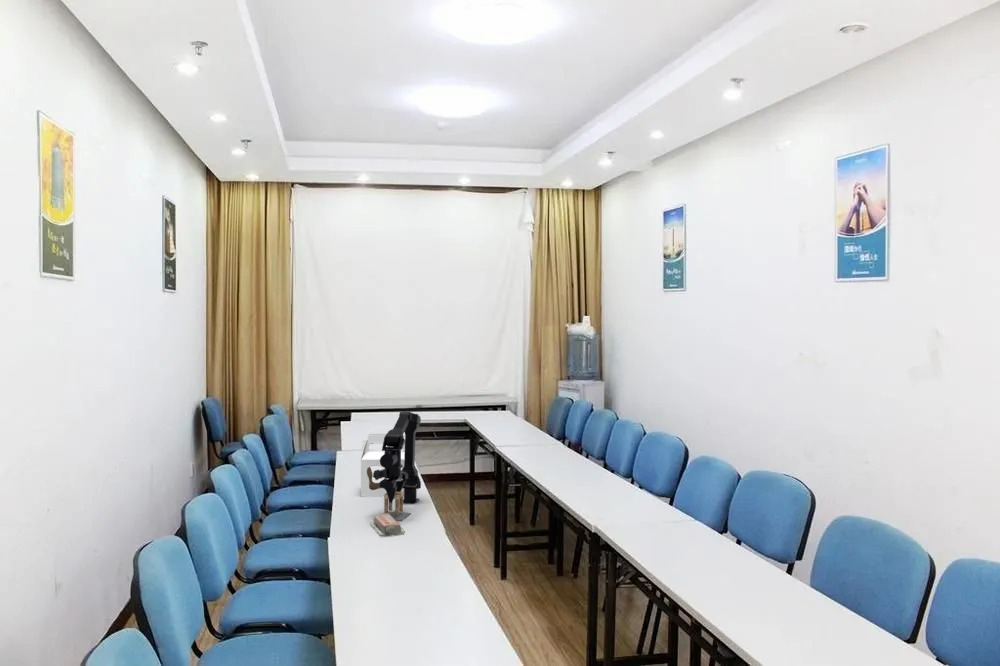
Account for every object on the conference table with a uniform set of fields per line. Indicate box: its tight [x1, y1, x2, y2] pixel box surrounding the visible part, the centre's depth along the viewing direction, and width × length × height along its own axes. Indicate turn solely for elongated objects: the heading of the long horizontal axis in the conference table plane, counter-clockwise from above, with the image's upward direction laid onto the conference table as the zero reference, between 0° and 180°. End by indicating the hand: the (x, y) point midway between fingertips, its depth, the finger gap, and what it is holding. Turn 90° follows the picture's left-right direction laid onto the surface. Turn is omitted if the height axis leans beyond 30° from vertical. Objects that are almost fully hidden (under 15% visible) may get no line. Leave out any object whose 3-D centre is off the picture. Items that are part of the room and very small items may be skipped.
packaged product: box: [369, 512, 406, 537], centre depth 290 cm, size 18×5×10 cm
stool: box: [383, 492, 404, 515], centre depth 307 cm, size 6×6×8 cm
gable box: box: [360, 433, 405, 497], centre depth 345 cm, size 22×13×28 cm, turn 94°
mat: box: [388, 510, 411, 522], centre depth 307 cm, size 11×11×1 cm
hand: (393, 500), depth 307 cm, fingers closed on stool, 6 cm apart
